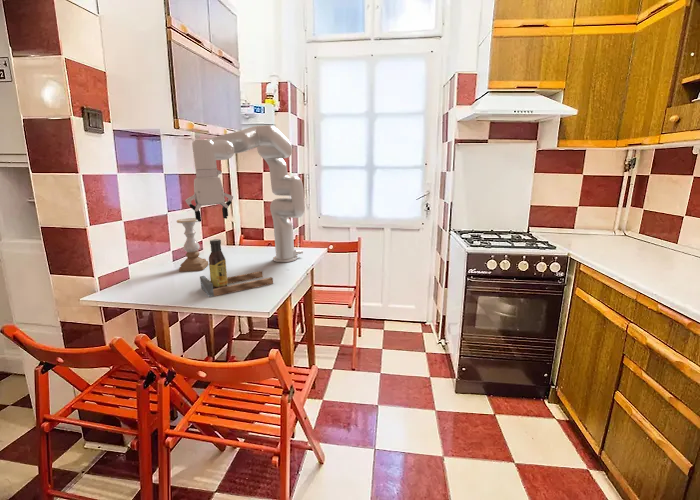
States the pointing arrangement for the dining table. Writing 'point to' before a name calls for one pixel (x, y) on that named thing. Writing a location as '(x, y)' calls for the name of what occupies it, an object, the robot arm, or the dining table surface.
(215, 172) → the robot arm
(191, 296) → the dining table surface
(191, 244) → the candle holder
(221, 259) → the sauce bottle
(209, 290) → the wooden u-shaped frame
